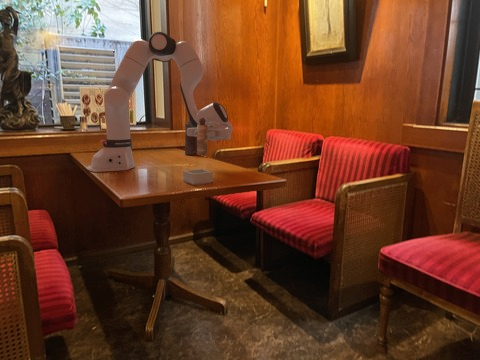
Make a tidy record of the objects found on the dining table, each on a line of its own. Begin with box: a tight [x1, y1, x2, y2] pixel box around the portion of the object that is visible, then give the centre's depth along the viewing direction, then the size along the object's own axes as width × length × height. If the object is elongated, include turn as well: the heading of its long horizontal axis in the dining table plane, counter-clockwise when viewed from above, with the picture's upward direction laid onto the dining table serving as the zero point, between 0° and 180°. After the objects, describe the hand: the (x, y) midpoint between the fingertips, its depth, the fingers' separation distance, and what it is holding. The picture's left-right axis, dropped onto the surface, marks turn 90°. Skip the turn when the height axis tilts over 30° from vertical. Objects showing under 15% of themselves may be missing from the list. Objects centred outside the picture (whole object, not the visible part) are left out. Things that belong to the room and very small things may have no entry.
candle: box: [184, 121, 198, 156], centre depth 226 cm, size 8×7×20 cm
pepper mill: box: [197, 118, 209, 156], centre depth 162 cm, size 4×4×16 cm
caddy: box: [182, 168, 214, 186], centre depth 154 cm, size 9×9×4 cm
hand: (201, 134), depth 161 cm, fingers closed on pepper mill, 4 cm apart
